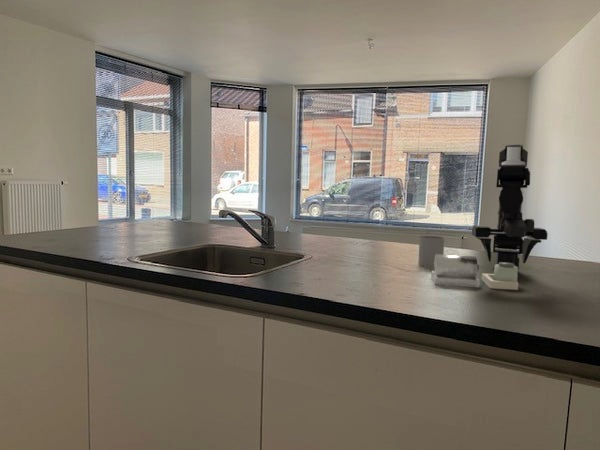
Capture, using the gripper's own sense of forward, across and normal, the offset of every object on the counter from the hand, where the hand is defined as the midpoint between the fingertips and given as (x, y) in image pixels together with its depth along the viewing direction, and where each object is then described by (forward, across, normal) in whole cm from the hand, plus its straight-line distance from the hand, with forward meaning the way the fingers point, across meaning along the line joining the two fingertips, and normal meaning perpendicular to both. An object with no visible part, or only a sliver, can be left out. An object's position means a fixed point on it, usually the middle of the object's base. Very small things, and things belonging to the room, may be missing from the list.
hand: (506, 262), depth 120 cm
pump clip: (+7, -2, 0) cm, 7 cm away
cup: (+7, -18, +26) cm, 33 cm away
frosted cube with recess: (+7, 0, 0) cm, 7 cm away
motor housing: (+7, -14, 0) cm, 16 cm away
